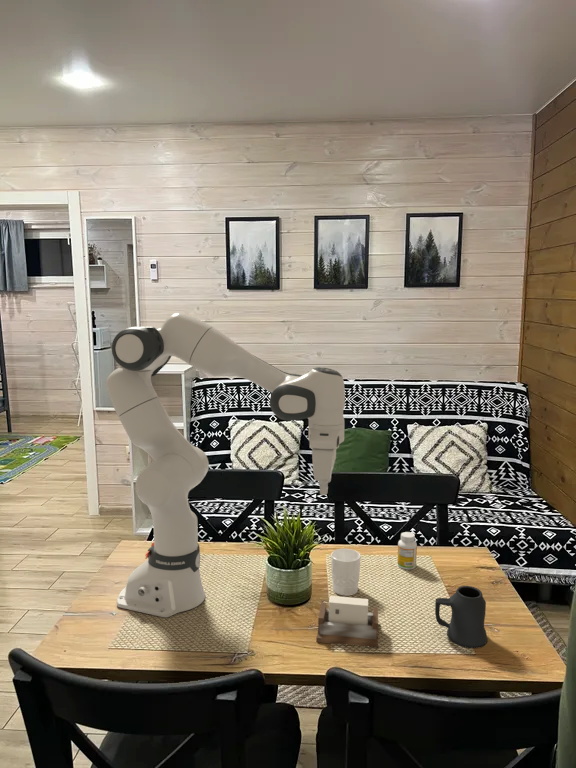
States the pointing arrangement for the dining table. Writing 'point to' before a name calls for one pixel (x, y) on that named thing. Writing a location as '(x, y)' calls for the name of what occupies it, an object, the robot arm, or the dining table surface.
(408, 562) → the supplement bottle
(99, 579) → the dining table surface
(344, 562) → the white cup
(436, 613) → the mug
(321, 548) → the dining table surface
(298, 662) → the dining table surface
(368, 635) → the brown wooden rack
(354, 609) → the white block with hole
